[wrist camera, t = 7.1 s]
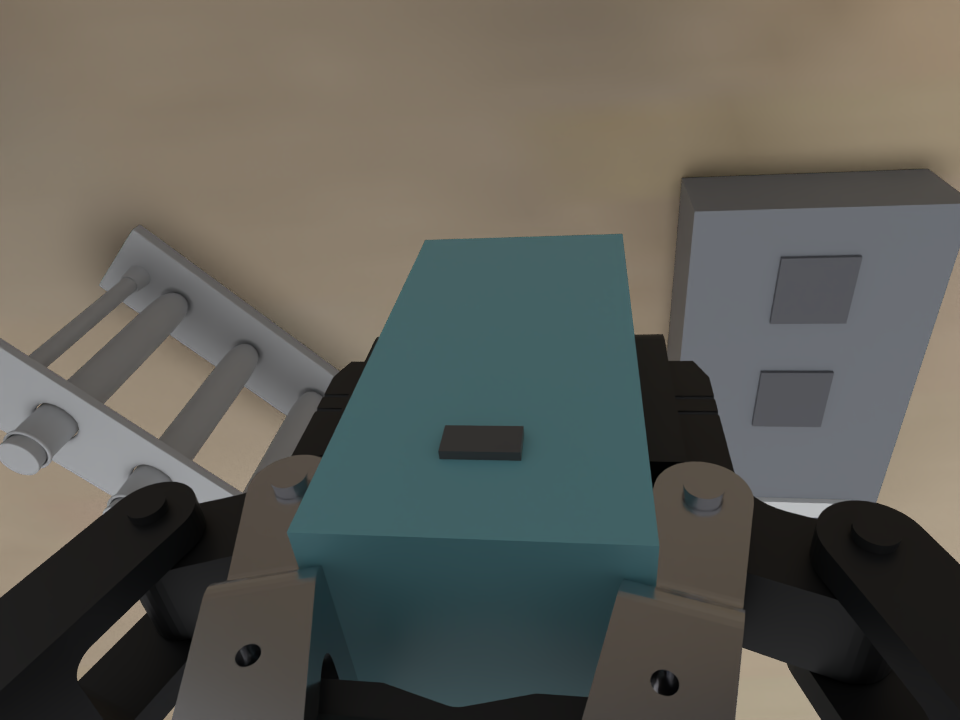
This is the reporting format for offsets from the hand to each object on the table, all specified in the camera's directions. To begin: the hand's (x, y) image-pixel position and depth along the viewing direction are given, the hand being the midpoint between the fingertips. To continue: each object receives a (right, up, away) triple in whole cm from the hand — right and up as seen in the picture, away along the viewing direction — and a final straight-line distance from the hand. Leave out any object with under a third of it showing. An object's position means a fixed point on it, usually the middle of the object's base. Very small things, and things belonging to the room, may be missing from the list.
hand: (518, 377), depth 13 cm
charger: (0, +1, +2) cm, 2 cm away
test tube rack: (-10, -1, +26) cm, 28 cm away
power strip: (+14, -2, +23) cm, 27 cm away
